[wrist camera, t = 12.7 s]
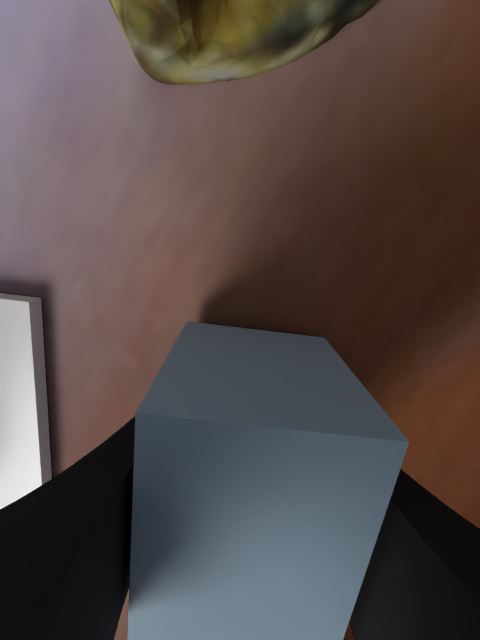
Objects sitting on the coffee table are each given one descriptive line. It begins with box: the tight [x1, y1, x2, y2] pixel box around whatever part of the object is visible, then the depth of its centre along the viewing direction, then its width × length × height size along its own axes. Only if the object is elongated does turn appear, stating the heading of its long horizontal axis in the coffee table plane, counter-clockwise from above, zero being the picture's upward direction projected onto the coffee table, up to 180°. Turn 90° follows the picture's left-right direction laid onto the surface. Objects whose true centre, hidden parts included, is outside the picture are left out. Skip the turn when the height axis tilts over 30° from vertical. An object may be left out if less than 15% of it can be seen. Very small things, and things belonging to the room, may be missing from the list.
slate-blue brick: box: [128, 321, 409, 640], centre depth 8 cm, size 6×4×5 cm
